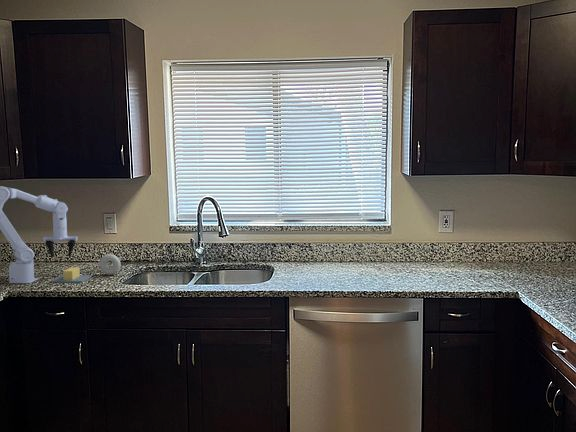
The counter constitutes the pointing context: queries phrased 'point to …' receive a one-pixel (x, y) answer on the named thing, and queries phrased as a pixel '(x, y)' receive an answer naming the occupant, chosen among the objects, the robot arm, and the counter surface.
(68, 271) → the yellow rectangular block
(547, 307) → the counter surface
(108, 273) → the donut
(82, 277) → the mat
